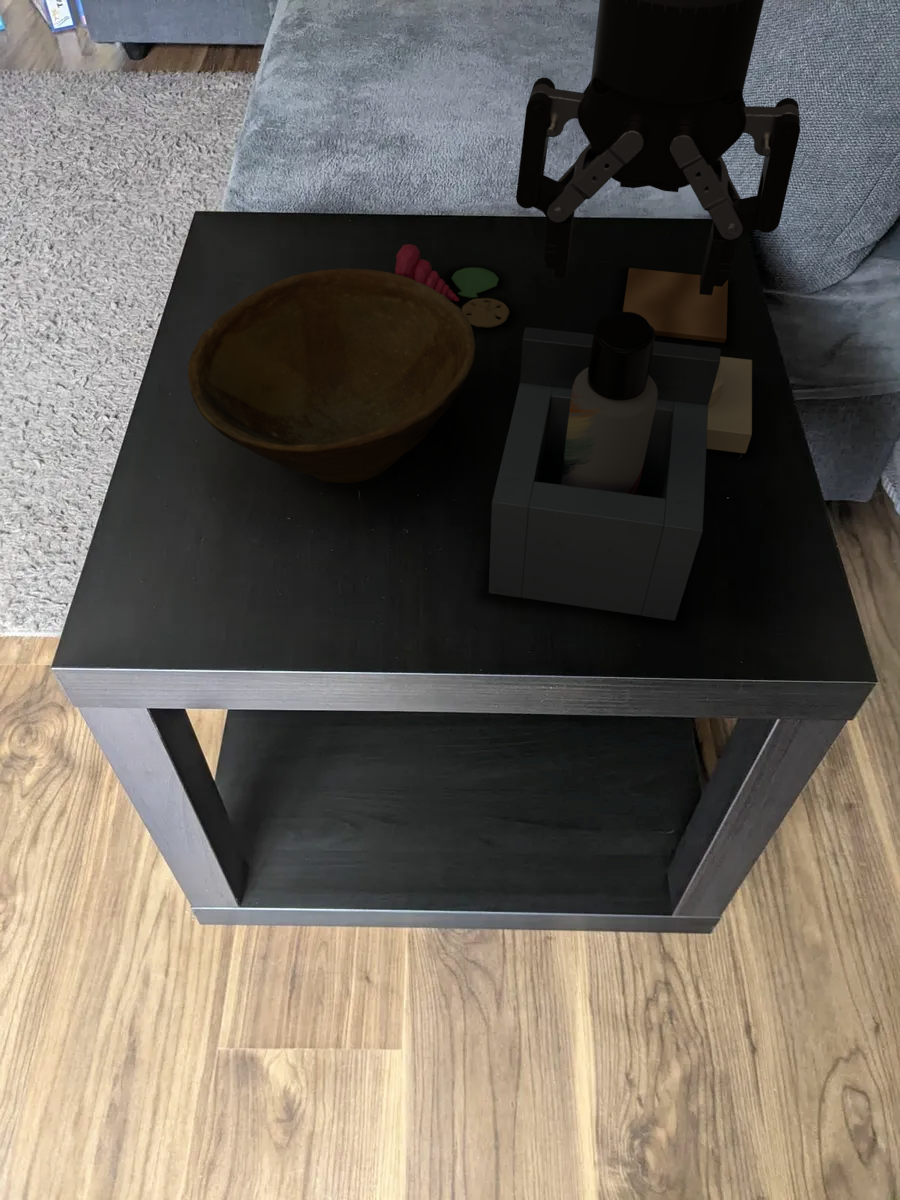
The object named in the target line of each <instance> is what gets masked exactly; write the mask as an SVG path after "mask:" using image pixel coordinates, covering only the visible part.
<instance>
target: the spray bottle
mask: <svg viewBox="0 0 900 1200" xmlns="http://www.w3.org/2000/svg"><path fill="white" fill-rule="evenodd" d="M594 325H595V326H594V329H593V342H592V349H591V355H590V362H589V367H588V368H586V369H584V370H583V371H582V372H581V373H580V374H579V375H578V376H577V377H576V379H575V381H574V384H573V389H572V395H571V403H570V410H569V419H568V427H567V435H566V444H565V452H564V460H563V469H562V477H561V485H566V486H573V487H581V488H588V489H596V490H603V491H611V492H618V493H626V494H633V495H637V492H638V488H639V483H640V478H641V474H642V469H643V464H644V460H645V455H646V450H647V446H648V441H649V436H650V432H651V427H652V422H653V418H654V413H655V408H656V403H657V396H658V395H657V387H656V384H655V382H654V381H653V379H652V378H651V377H650V376H649V375H648V373H649V368H650V363H651V357H652V352H653V346H654V341H655V339H656V335H655V330H654V328H653V327H652V326H651V325H649V323H648V321H647V320H646V319H645V318H644V317H642V316H641V315H639V314H636V313H633V312H623V311H618V312H615V313H612V314H607V315H604V316H601V317H600V318H599V319H598V320H597V321H596V323H595V324H594ZM655 342H656V341H655Z"/></svg>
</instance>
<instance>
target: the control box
mask: <svg viewBox="0 0 900 1200" xmlns="http://www.w3.org/2000/svg"><path fill="white" fill-rule="evenodd" d="M752 434H753V360H752V359H746V358H739V357H738V358H736V357H728V356H721V355H720V364H719V368H718V372H717V376H716V379H715V383H714V387H713V390H712V394H711V398H710V401H709V404H708V425H707V448H706V450H713V451H722V452H729V453H739V454H746V453H747V450H748V447H749V445H750V442H751V438H752Z"/></svg>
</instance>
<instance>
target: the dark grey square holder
mask: <svg viewBox="0 0 900 1200" xmlns="http://www.w3.org/2000/svg"><path fill="white" fill-rule="evenodd" d="M593 335H594V333H583V332H575V331H574V332H573V331H565V330H558V329H557V330H556V329H548V328H537V327H528V326H526V327H525V328H524V331H523V336H522V342H521V343H522V344H521V345H522V346H521V356H520V357H521V358H520V359H521V360H520V374H519V384H518V390H517V394H516V399H515V402H514V407H513V411H512V415H511V420H510V423H509V428H508V432H507V435H506V441H505V444H504V450H503V453H502V457H501V462H500V466H499V470H498V475H497V479H496V483H495V488H494V492H493V495H492V499H491V519H490V542H489V543H490V547H489V569H488V571H489V573H488V575H489V576H488V594H493V595H499V596H507V597H513V598H519V599H520V598H522V599H528V600H535V601H541V602H548V603H553V604H554V603H555V604H561V605H568V606H574V607H581V608H589V609H594V610H599V611H600V610H602V611H608V612H614V613H621V614H628V615H635V616H641V617H648V618H653V619H661V620H667V621H673V622H674V621H676V620H677V617H678V613H679V610H680V606H681V603H682V599H683V596H684V593H685V590H686V587H687V584H688V581H689V577H690V574H691V571H692V567H693V565H694V560H695V557H696V555H697V551H698V548H699V545H700V541H701V538H702V534H703V531H704V515H705V514H704V513H705V511H704V510H705V491H706V489H705V488H706V468H707V467H706V466H707V465H706V464H707V449H706V448H707V425H708V404H709V401H710V398H711V394H712V390H713V387H714V383H715V379H716V376H717V372H718V368H719V364H720V356H721V351H722V350H721V348H719V347H718V348H717V347H710V346H709V347H708V346H699V345H691V344H681V343H672V342H662V341H654V346H653V352H652V357H651V363H650V368H649V373H648V375H649V376H650V377H651V378H652V379H653V381H654V382H655V384H656V387H657V395H658V396H657V403H656V408H655V413H654V418H653V422H652V427H651V432H650V436H649V441H648V446H647V450H646V455H645V460H644V464H643V469H642V474H641V478H640V483H639V488H638V492H637V495H633V494H626V493H618V492H611V491H603V490H596V489H588V488H581V487H573V486H566V485H561V477H562V469H563V460H564V452H565V444H566V435H567V427H568V419H569V410H570V403H571V395H572V389H573V384H574V381H575V379H576V377H577V376H578V375H579V374H580V373H581V372H582V371H583V370H584V369H586V368H588V367H589V362H590V355H591V349H592V342H593Z"/></svg>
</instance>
